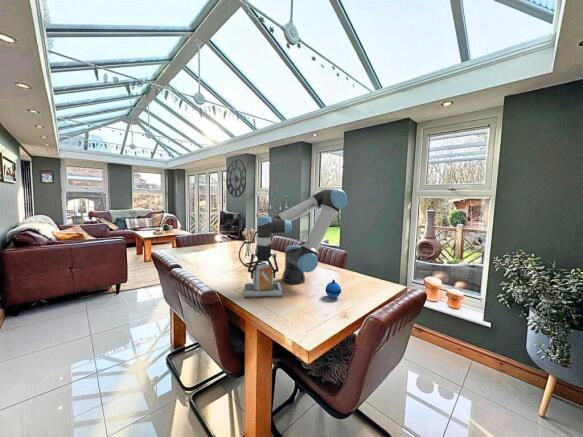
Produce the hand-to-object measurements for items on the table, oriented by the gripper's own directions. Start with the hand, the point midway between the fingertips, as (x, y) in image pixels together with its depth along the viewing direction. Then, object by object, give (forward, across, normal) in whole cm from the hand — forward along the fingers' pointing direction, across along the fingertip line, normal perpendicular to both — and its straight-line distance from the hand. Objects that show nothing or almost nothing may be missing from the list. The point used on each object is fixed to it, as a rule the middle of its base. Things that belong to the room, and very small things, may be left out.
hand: (263, 283), depth 139 cm
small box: (+3, 0, 0) cm, 3 cm away
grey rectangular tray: (+5, 0, 0) cm, 5 cm away
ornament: (+6, -38, +9) cm, 39 cm away
